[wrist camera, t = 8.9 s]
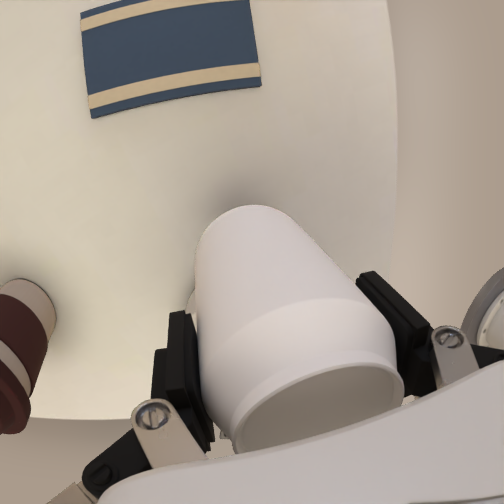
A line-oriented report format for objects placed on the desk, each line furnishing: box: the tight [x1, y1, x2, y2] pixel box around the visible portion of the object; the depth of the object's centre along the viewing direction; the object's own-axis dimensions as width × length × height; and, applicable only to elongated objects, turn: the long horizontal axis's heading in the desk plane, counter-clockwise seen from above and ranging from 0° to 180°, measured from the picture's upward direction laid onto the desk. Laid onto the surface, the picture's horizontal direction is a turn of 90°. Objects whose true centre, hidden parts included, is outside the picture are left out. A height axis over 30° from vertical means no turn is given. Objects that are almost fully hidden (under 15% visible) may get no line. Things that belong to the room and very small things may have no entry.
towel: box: [80, 0, 262, 118], centre depth 21 cm, size 14×10×1 cm
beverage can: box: [195, 205, 404, 454], centre depth 13 cm, size 6×6×12 cm
